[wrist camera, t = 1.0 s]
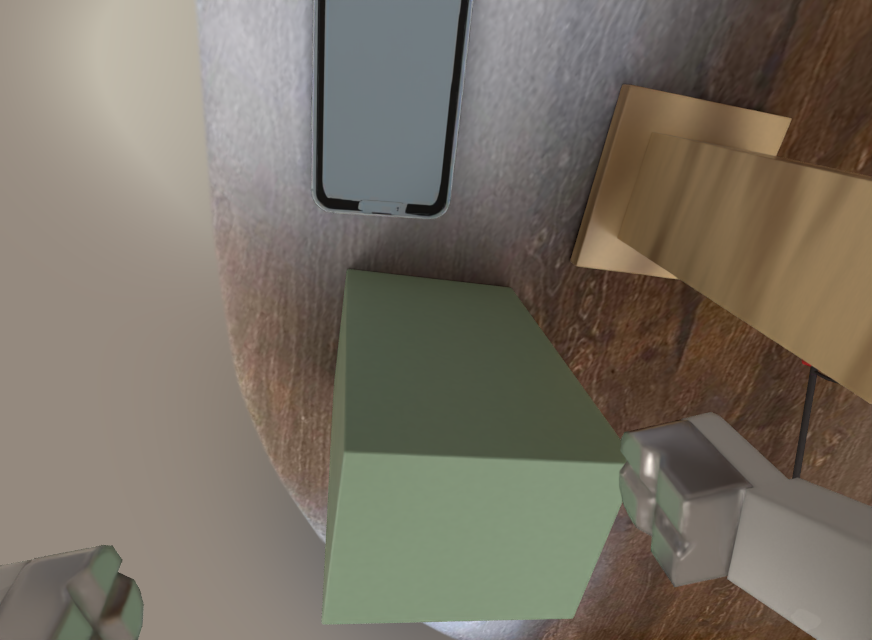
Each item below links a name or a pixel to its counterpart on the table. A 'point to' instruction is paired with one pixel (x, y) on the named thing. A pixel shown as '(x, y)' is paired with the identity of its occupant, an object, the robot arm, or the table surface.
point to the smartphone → (387, 104)
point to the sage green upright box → (459, 460)
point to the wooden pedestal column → (737, 225)
